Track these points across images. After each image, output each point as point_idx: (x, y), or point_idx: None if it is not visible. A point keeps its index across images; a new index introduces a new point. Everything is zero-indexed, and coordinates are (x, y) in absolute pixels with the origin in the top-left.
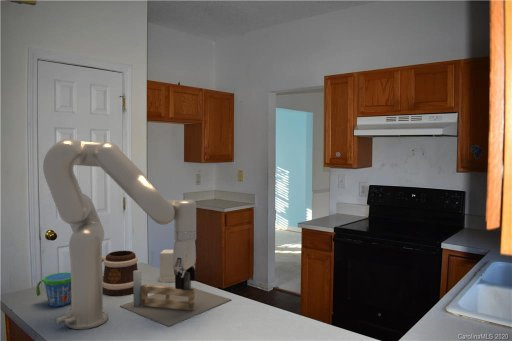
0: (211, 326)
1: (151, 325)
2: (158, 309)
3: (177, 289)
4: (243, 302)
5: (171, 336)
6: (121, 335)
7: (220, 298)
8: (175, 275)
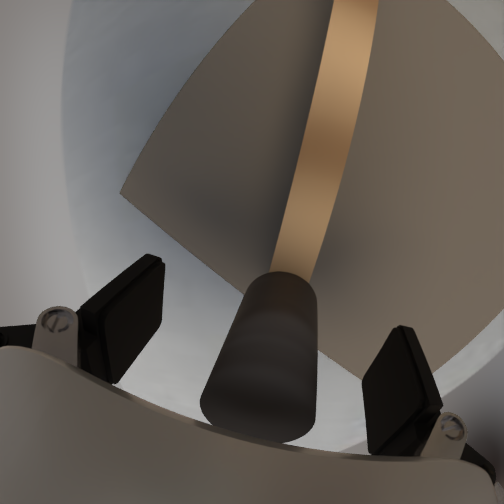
0: (154, 339)
1: (130, 115)
2: (305, 89)
3: (278, 237)
4: (361, 424)
5: (71, 221)
6: (68, 56)
7: None
8: (18, 329)
